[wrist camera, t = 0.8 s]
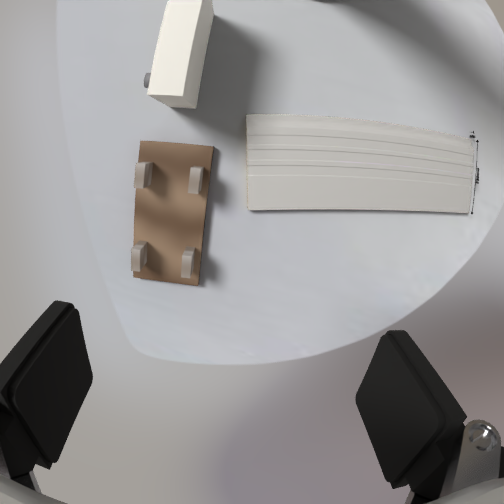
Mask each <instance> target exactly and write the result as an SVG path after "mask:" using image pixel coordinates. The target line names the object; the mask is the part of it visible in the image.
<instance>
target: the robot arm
mask: <svg viewBox="0 0 504 504" xmlns="http://www.w3.org/2000/svg"><path fill="white" fill-rule="evenodd" d="M92 380H93V374H92V370H91V366H90V362H89V358H88V354H87V349H86V345H85V340H84V336H83V331H82V326H81V320H80V315H79V311H78V310H77V309H75V308H74V305H73V304H72V303H68V302H62V301H54V302H53V303H52V304H51V305H50V306H49V307H48V309H47V310H46V311H45V312H44V313H43V314H42V315H41V316H40V317H39V319H38V320H37V321H36V322H35V323H34V324H33V325H32V326H31V328H30V329H29V330H28V331H27V332H26V334H24V336H23V337H22V338H21V339H20V341H19V342H18V343H17V344H16V345H15V346H14V348H13V349H12V350H11V351H10V353H9V354H8V355H7V356H6V358H5V359H4V360H3V361H2V363H1V364H0V504H66V503H64V502H61V501H58V500H56V499H53V498H51V497H48V496H46V495H43V494H42V493H41V490H40V488H39V485H38V483H37V480H36V478H35V475H34V473H33V468H34V466H35V464H38V465H40V466H42V467H44V468H47V469H50V468H51V465H52V463H56V462H57V461H58V459H59V457H60V454H61V452H62V450H63V447H64V445H65V442H66V440H67V438H68V435H69V432H70V430H71V428H72V426H73V424H74V421H75V419H76V417H77V414H78V412H79V410H80V408H81V405H82V403H83V401H84V399H85V397H86V395H87V393H88V391H89V388H90V386H91V384H92ZM356 404H357V407H358V409H359V412H360V415H361V417H362V420H363V422H364V425H365V427H366V430H367V432H368V435H369V438H370V440H371V443H372V445H373V448H374V451H375V453H376V456H377V458H378V461H379V464H380V466H381V469H382V472H383V475H384V477H385V479H386V481H387V482H390V483H391V486H392V488H393V489H395V488H399V487H403V486H406V485H407V484H409V486H410V488H411V490H410V492H409V495H408V497H407V499H406V502H405V504H504V447H502V446H501V438H500V435H499V433H498V431H497V430H496V428H495V427H494V426H493V425H491V424H490V423H488V422H486V421H484V420H473V421H471V422H469V423H468V424H467V425H466V426H464V424H463V422H464V420H465V419H466V418H467V416H466V414H465V413H464V411H463V410H462V408H461V407H460V405H459V404H458V402H457V401H456V399H455V398H454V396H453V395H452V393H451V392H450V390H449V389H448V388H447V386H446V385H445V383H444V382H443V380H442V379H441V378H440V376H439V375H438V373H437V372H436V371H435V369H434V368H433V367H432V365H431V364H430V362H429V361H428V360H427V358H426V357H425V356H424V354H423V353H422V352H421V350H420V349H419V348H418V346H417V345H416V344H415V342H414V341H413V340H412V338H411V337H410V336H409V334H408V333H407V332H406V331H404V330H395V331H394V330H390V331H387V333H386V334H385V335H383V336H382V337H381V339H380V341H379V343H378V346H377V348H376V351H375V353H374V356H373V358H372V360H371V363H370V365H369V367H368V370H367V372H366V374H365V376H364V379H363V381H362V383H361V385H360V387H359V389H358V392H357V394H356Z"/></svg>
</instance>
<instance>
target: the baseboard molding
mask: <svg viewBox="0 0 504 504" xmlns="http://www.w3.org/2000/svg"><path fill="white" fill-rule="evenodd" d="M473 134H474V131H473ZM473 136H474V135H470V137H471V138H475V137H473ZM246 138H247V199H248V210H294V209H354V210H405V211H434V212H456V213H469V207H470V198H471V188H472V187H471V184H472V176H473V175H472V170H473V156H474V150H473V148H472V145H471V139H468V138H464V137H460V136H456V135H451V134H447V133H442V132H437V131H432V130H427V129H422V128H416V127H410V126H404V125H398V124H391V123H384V122H377V121H369V120H360V119H350V118H339V117H327V116H311V115H287V114H246ZM476 142H477V149H478V142H479V141H478V140H477V141H476ZM476 170H478V171H477V174H478V175H477V178H479V168H477V163H476ZM477 180H478V181H479V179H475V184H476V183H477V184H478V183H479V182H477ZM474 194H475V190H474ZM473 203H474V200H473ZM472 211H473V208H472ZM471 214H473V213H472V212H471Z"/></svg>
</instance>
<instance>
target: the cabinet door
mask: <svg viewBox="0 0 504 504" xmlns="http://www.w3.org/2000/svg"><path fill="white" fill-rule="evenodd" d="M213 17H214V11H213V5H212V0H168V2H167V6H166V10H165V13H164V17H163V21H162V25H161V29H160V33H159V38H158V42H157V46H156V51H155V56H154V61H153V66H152V71H151V73H146V75H145V78H144V87H145V88H148V93H147V95H149V96H151V97H153V98H154V99H156V100H158V101H160V102H162V103H163V104H165V105H167V106H168V107H177V108H191V109H196V107H197V101H198V95H199V89H200V83H201V77H202V72H203V66H204V61H205V55H206V50H207V45H208V40H209V35H210V31H211V26H212V21H213Z"/></svg>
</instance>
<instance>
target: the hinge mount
mask: <svg viewBox="0 0 504 504" xmlns="http://www.w3.org/2000/svg"><path fill="white" fill-rule="evenodd" d="M213 149H214V147H212V146H203V145H193V144H182V143H169V142H155V141H140V150H139V160H138V163H136V168H135V180H134V188H136V197H135V216H134V247H133V248H132V249H131V271H133V277H135V278H142V279H150V280H157V281H164V282H172V283H179V284H187V285H195V286H198V284H199V275H200V263H201V253H202V242H203V233H204V223H205V214H206V205H207V196H208V188H209V180H210V172H211V164H212V157H213Z"/></svg>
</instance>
